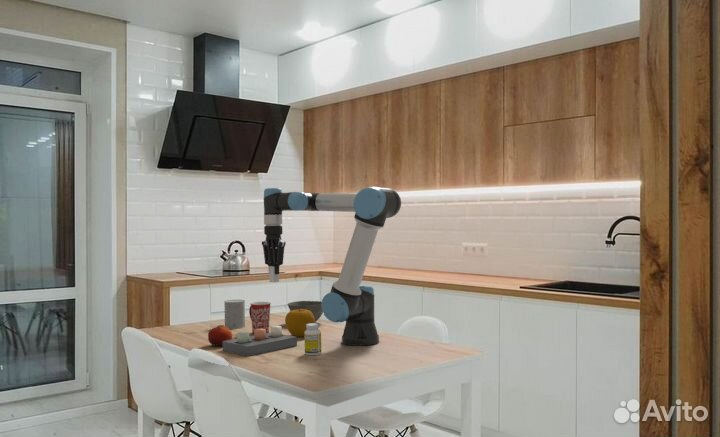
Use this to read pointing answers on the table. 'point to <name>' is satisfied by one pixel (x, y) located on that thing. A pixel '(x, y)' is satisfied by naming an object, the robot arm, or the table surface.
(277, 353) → the table surface
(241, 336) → the button sage
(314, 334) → the pill bottle
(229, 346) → the panel
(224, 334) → the tomato
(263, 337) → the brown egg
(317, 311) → the bowl
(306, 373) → the table surface
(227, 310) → the grey stone cylinder
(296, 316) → the apple
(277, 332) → the button cream
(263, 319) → the mug
